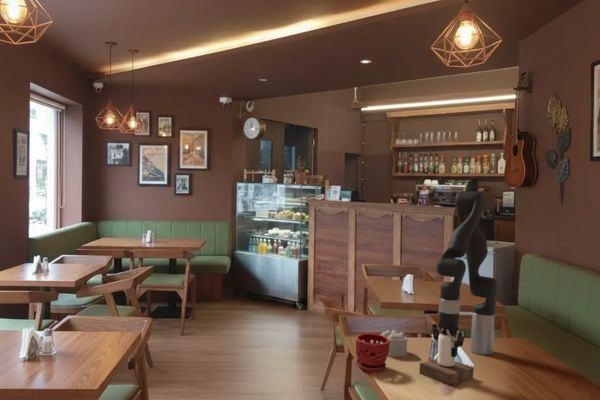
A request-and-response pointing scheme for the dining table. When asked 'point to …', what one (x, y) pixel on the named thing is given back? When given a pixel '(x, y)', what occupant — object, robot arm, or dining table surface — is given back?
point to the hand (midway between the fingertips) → (447, 354)
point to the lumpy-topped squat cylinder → (396, 343)
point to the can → (445, 351)
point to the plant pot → (371, 352)
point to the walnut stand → (446, 372)
